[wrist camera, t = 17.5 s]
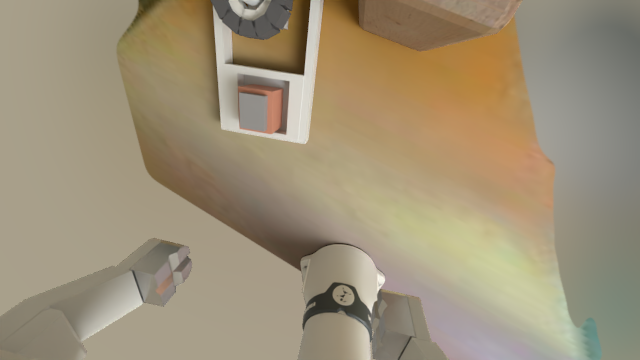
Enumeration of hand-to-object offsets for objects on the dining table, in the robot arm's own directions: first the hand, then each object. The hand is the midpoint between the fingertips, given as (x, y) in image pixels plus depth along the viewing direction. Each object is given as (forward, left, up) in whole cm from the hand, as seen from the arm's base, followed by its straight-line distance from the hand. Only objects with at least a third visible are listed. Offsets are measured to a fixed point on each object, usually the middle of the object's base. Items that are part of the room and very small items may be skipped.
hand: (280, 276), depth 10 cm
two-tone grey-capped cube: (+1, +12, -31) cm, 33 cm away
